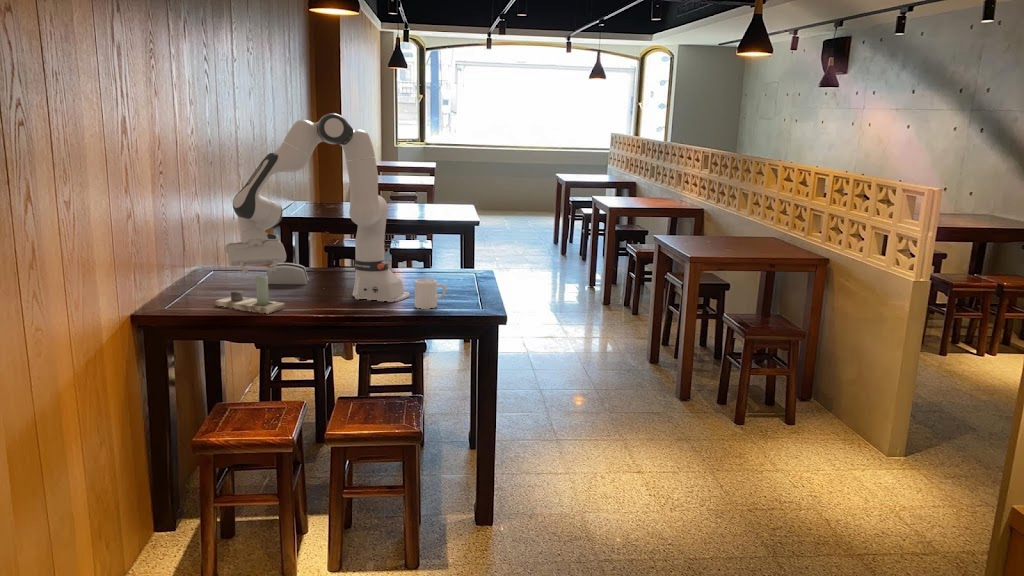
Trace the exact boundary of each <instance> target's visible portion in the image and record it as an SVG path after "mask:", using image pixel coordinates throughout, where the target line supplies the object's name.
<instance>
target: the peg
mask: <svg viewBox="0 0 1024 576" xmlns="http://www.w3.org/2000/svg"><path fill="white" fill-rule="evenodd" d="M255 289H256V299H257V305H258V306H267V305H269V301H270V298H269V297H270V296H269V294H270V293H269V284H268V276H267V275H256V276H255Z"/></svg>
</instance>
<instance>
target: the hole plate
mask: <svg viewBox="0 0 1024 576" xmlns="http://www.w3.org/2000/svg"><path fill="white" fill-rule="evenodd" d="M243 295H244V293H243V290H233V291H230V296H227V297H224V298H220V299H217V300H214V301H215V302H214V303H215V304H214V305H215V306H216V305H217V306H216V307H219V306H224V307H223V308H225V307H229V308H228V309H232V308H234V309H233V310H238V309H239V310H240V311H244V312H245V311H247V312H251V311H252V313H257V312H258V313H259V314H264V313H266V314H265V315H270V314H272V312H273V313H275V311H276V312H278V311H277V310H279V311H281V309H282V310H285V309H286V305H285V304H286V303H285V302H281V301H280V302H279V301H272V300H269V305H267V306H258V305H257V298H254V297H253V298H252V297H245V296H243ZM269 313H270V314H269Z"/></svg>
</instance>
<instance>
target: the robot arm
mask: <svg viewBox="0 0 1024 576" xmlns="http://www.w3.org/2000/svg"><path fill="white" fill-rule="evenodd" d="M320 143H325V144H330V145H339V146H341V148H342V150H343V152H344V156H345V157H344V158H345V161H346V162H345V164H346V169H347V174H348V181H349V182H348V183H349V211H348V212H349V214H348V215H349V217H350V219H351V221H352V222H353V223H354V224H356V225H357V229H356V230H357V231H356V236H355V240H354V241H355V242H354V245H355V259H354V271H355V278H354V286H353V291H352V296H353V297H354V299H355V300H359V299H367V300H366V301H371V300H377V301H376V302H384V301H387V302H388V303H393V302H394V301H395V302H400V301H402V300H404V299H407V298H409V297H410V296H411V295H410V292H408V291H405V289H404V283H403V281H402V279H400V277H398V276H397V275H396V274H395V273H393V272H392V270H390V269H389V266H391V261H387V260H386V258H385V236H386V235H385V233H386V227H387V226H386V225H387V218H388V217H387V216H388V203H387V200H385V198H384V197H382V196H381V195H380V194H379V173H378V166H377V160H376V155H375V151H374V145H373V142H372V140H371V137H370V134H369V133H368V132H367V131H365V130H364V129H360V128H358V129H353V127H352V126H351V125H350V123H349V122H348V121H347V119H346V118H345V117H343V115H341V114H338V113H335V112H333V113H332V112H331V113H327V114H325V115H323V116H322V117H321V118H320V119H319V120H318V121H316V122H312V121H311V120H307V119H298V120H296V121H295V122H294V124H293V125H292V126H291V127H290V128H289V131H288V132H287V134H286V136H285V137H284V139H283V141H282V143H281V144H280V146H279V147H278V148H277V149H276V150H275V151H273V152H269V153H268V154H267V155H266V156H264V158H263V159H262V160H261V162H260V163H259V165H258V166H257V168H256V169H255V170H254V172H253V173H252V174H251V176H250V178H249V179H248V180H247V182H246V183H245V185H244V186H243V187H241V189H240V190H239V191H238V193H236V195H235V196H234V198H233V200H232V208H233V212H234V213H235V214H236V216H237V223H238V228H239V230H240V242H229V243H227V244H226V245H225V247H224V249H225V252H226V253H227V263H228V265H229V266H230V267H239V268H240V270H242V272H243V275H245V276H246V275H249V268H248V267H245V266H253V265H274V266H271V273H273V272H276V266H277V263H286V261H287V253H286V249H285V247H284V244H283V242H281V241H280V236H279V234H273V233H270V232H266V230H270V229H272V228H274V226H276V225H278V224H279V223H281V221H282V219H283V208H282V205H281V204H280V203H279V202H277V201H275V200H272V199H270V198H268V197H265V196H262V195H260V194H259V193H260V192H261V190H262V189H263V188H264V186H265V185H266V184H267V182H268V181H269V179H270V177H272V176H273V175H274V174H275V175H276V174H277V173H278V174H279V173H295V172H296V173H297V172H299V171H301V170H303V169H304V168H306V166H307V165H308V163H309V161H310V159H311V158H312V155H313V153H314V151H315V150H316V147H317V145H319V144H320ZM387 302H386V303H387Z"/></svg>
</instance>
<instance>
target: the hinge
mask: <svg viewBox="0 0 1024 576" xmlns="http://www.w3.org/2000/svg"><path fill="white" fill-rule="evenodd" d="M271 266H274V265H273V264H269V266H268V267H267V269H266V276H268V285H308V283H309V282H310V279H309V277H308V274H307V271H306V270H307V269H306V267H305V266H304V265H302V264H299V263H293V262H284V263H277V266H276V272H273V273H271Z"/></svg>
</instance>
